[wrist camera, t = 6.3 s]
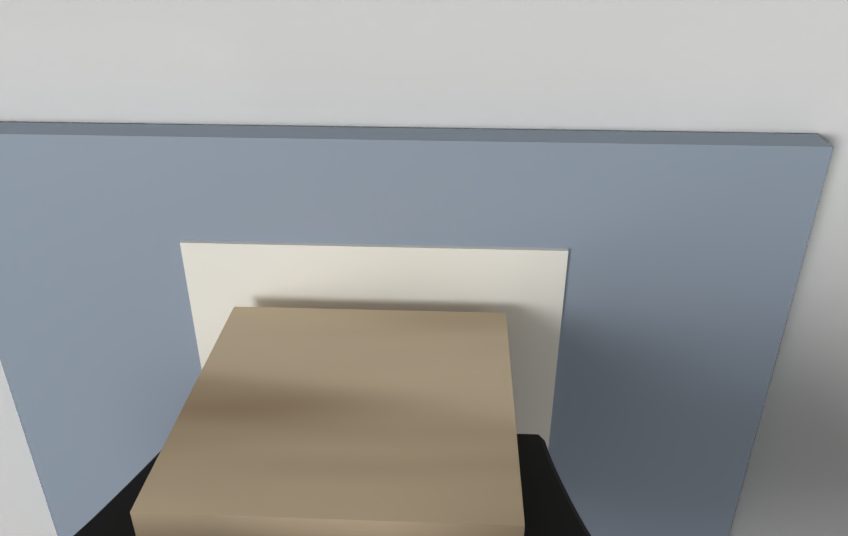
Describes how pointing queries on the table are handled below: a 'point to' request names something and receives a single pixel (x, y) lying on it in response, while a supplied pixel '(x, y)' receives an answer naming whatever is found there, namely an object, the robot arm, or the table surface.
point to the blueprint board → (413, 285)
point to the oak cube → (343, 430)
